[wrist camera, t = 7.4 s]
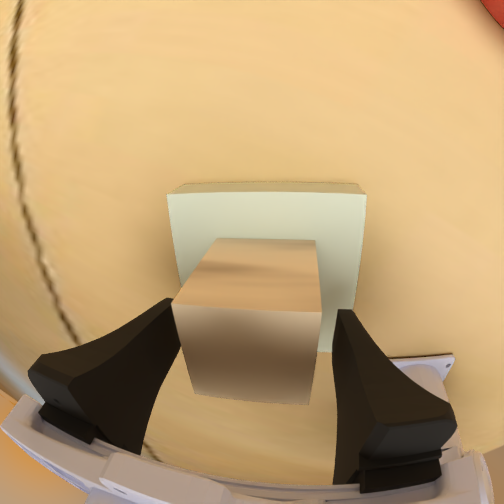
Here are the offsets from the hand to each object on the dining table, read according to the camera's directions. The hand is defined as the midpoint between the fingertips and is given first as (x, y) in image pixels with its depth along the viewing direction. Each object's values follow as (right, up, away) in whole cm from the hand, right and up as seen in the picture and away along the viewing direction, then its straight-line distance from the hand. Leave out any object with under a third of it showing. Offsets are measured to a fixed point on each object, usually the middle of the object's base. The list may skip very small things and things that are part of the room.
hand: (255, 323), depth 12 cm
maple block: (+1, +2, +3) cm, 3 cm away
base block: (+1, +3, +6) cm, 6 cm away
